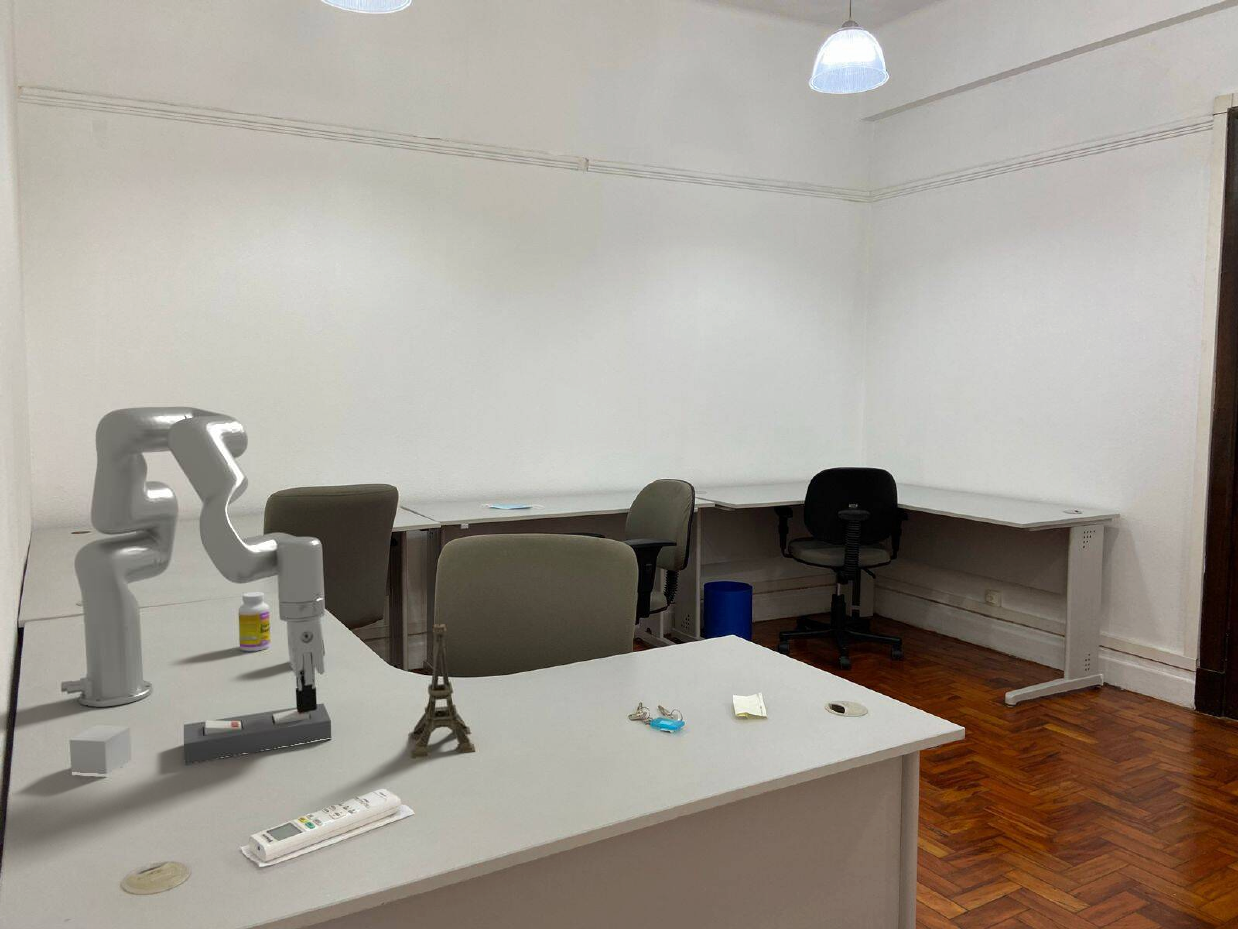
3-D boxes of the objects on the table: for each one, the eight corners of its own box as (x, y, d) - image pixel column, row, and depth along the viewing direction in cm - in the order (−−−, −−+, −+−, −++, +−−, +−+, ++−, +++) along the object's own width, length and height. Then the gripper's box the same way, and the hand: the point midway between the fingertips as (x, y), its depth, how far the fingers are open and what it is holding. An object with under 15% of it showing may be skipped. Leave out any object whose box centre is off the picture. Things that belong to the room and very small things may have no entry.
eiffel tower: (411, 759, 146) (408, 612, 144) (409, 734, 156) (406, 596, 154) (475, 752, 149) (473, 607, 147) (469, 728, 159) (467, 592, 157)
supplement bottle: (263, 652, 203) (261, 597, 201) (234, 652, 203) (232, 597, 201) (275, 643, 209) (273, 590, 208) (247, 643, 209) (245, 590, 208)
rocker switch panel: (184, 764, 144) (183, 744, 143) (184, 728, 158) (183, 710, 158) (331, 739, 154) (330, 720, 153) (318, 708, 168) (317, 690, 168)
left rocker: (204, 734, 147) (206, 726, 147) (204, 727, 150) (205, 719, 150) (240, 735, 150) (242, 728, 150) (239, 728, 153) (240, 720, 153)
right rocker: (275, 728, 152) (274, 720, 152) (273, 720, 155) (273, 713, 155) (309, 720, 154) (308, 712, 154) (307, 713, 158) (306, 706, 157)
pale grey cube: (97, 760, 146) (95, 725, 145) (131, 762, 145) (129, 726, 144) (71, 776, 140) (69, 739, 139) (106, 778, 139) (104, 741, 138)
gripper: (331, 615, 149) (335, 720, 151) (318, 596, 162) (322, 693, 164) (283, 621, 146) (289, 728, 147) (274, 601, 159) (279, 700, 161)
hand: (306, 709), depth 156 cm, fingers closed
